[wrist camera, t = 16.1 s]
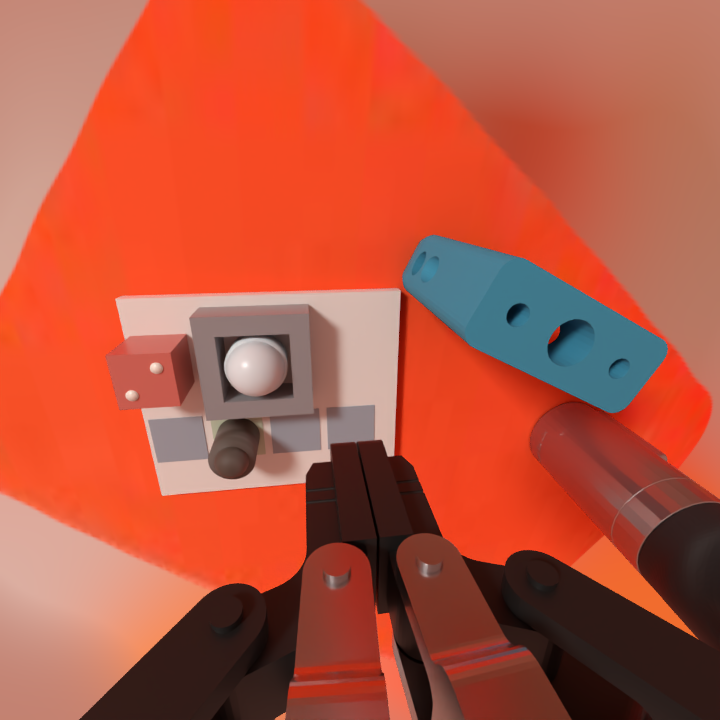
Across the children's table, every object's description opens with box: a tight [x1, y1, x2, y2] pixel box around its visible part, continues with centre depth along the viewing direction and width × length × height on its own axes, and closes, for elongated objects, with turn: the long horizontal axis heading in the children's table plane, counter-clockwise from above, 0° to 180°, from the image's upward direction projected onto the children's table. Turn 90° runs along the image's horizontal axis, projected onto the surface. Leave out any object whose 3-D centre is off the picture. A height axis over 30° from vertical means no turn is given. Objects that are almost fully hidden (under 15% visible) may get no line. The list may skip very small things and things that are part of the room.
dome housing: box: [189, 304, 314, 421], centre depth 37 cm, size 10×10×4 cm
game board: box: [115, 288, 401, 496], centre depth 41 cm, size 26×22×1 cm
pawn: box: [208, 418, 260, 479], centre depth 39 cm, size 4×4×6 cm
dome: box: [224, 335, 288, 397], centre depth 36 cm, size 6×6×5 cm
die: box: [106, 334, 195, 410], centre depth 35 cm, size 5×5×5 cm
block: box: [402, 235, 668, 413], centre depth 31 cm, size 12×5×20 cm, turn 64°
